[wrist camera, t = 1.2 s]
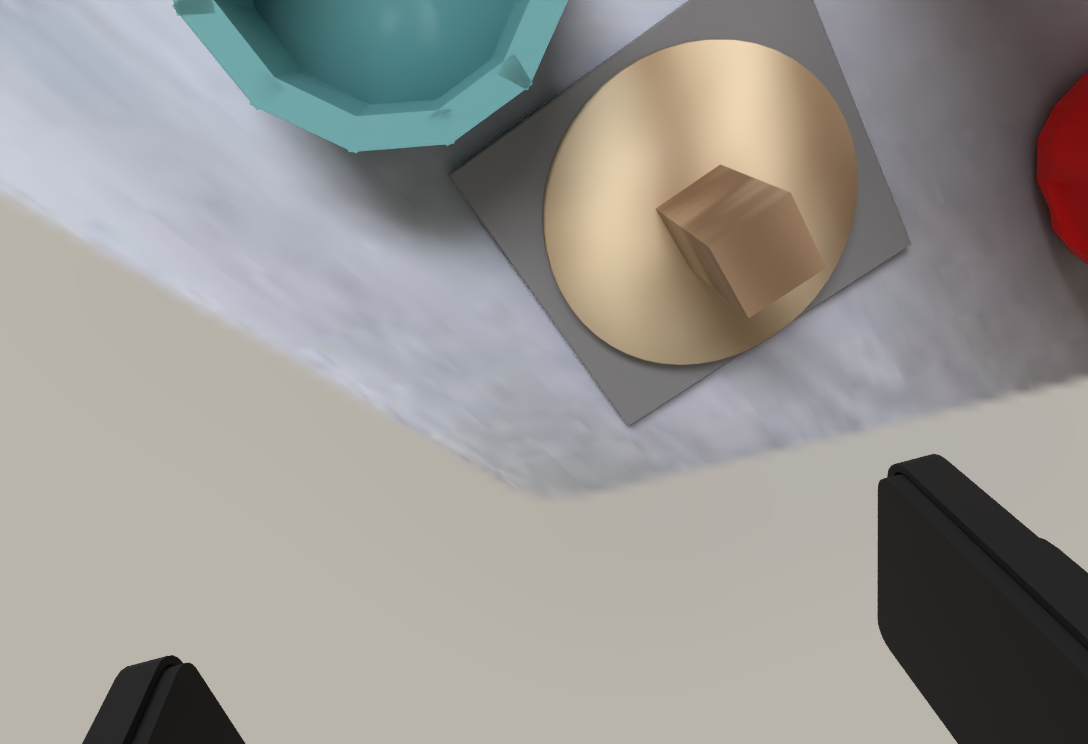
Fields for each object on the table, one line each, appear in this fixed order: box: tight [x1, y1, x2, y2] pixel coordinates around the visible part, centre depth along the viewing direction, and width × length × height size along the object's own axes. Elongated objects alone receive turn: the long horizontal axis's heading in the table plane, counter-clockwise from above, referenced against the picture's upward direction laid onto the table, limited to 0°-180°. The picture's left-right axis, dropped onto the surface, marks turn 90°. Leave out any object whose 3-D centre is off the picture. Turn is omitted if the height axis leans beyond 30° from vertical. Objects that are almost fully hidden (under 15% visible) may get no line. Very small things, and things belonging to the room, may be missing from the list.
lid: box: [542, 40, 858, 365], centre depth 26 cm, size 13×13×7 cm
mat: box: [449, 0, 911, 426], centre depth 29 cm, size 15×14×1 cm
